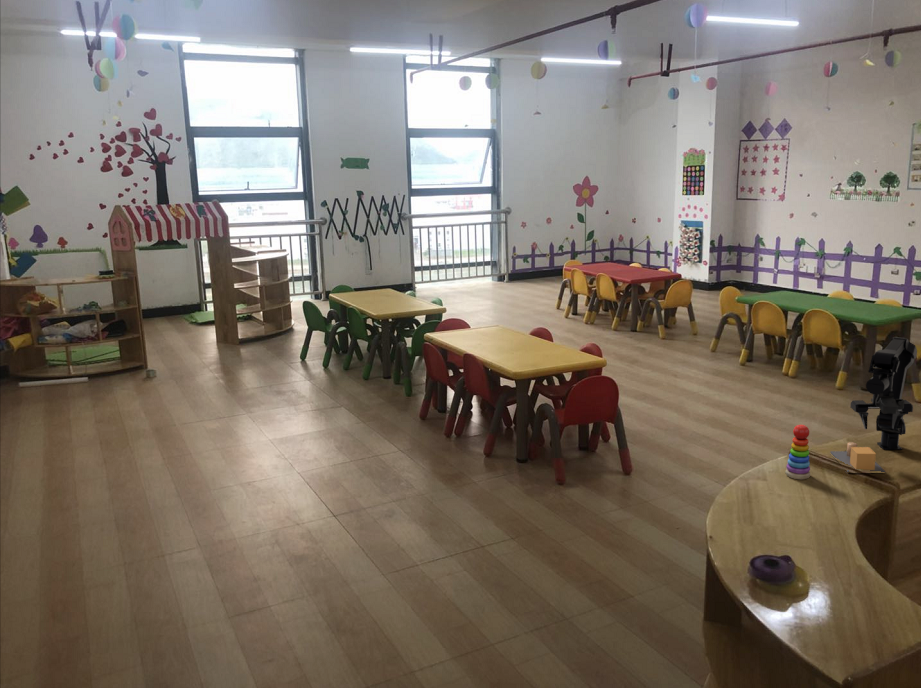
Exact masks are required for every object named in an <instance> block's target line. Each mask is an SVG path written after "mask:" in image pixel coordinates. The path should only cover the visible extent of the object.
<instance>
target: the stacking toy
mask: <svg viewBox="0 0 921 688" xmlns="http://www.w3.org/2000/svg"><path fill="white" fill-rule="evenodd" d="M792 431H793V432H792V433H793V435H794V437H793V438H792V439H791V440H792V443H791V447H790V448H791V449H790V450H789V451H790V453H789V454H788V459H787V463H786V469H785V474H786V476H787V477H789V478H791V479H793V480H794V479H795V480H807V479H809V478H810V477H811V471H810V470H811V466H810V456H809V455H810V451H809V448H810V446H809V441H810V440H809V439H808V437H809V435H810V429H809V428H808V426H806V425H805V424H797V425H795V426H794V428H793V429H792Z"/></svg>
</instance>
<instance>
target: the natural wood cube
mask: <svg viewBox="0 0 921 688" xmlns="http://www.w3.org/2000/svg"><path fill="white" fill-rule="evenodd" d="M876 455H877V453H876V452H875V451H874V450H873V449H872V448H871V447H870V446H869V447H868V446H857V447H851V456H850V464H851V465H852V466H853V467H854V468H855V469H863V470H875V462H876V458H877V456H876Z"/></svg>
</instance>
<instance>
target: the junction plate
mask: <svg viewBox="0 0 921 688" xmlns="http://www.w3.org/2000/svg"><path fill="white" fill-rule="evenodd" d="M851 447H858V443H856V442H853V441H850V442H847V449H846V450H845V451H843V450H841V451H839V450H837V451H835V450H831V451H829V454H830V453H831V454H832V455H833V456H834V457H835V458H837V459H839V460H840V461H842V462H844V463H845V464H848V465H850V466H852V465H851V464H850V456H851ZM831 454H830V455H831ZM832 455H831V456H832ZM833 456H832V457H833ZM834 457H833V458H834ZM870 471H881V472H885V473H886V470H884V468H883V467H882V466H880V464H878V462H877V461H875V470H870ZM847 472H849V470H847ZM847 472H846V473H847Z"/></svg>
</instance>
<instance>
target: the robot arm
mask: <svg viewBox="0 0 921 688" xmlns="http://www.w3.org/2000/svg"><path fill="white" fill-rule="evenodd" d="M917 355H918V350H917V346H916V345H915V344H913V343H912V342H910V341H909V339H908V338H906V337H897V336H894V337H892V338H891V339H890V341H889V343H888V345H887V346H886V347H885V348H884V349H879V350H877V351H875V353H873V354H872V356H871V359H870V363H869V368H868V370H867V371H868V373H870V374H872V376H871V378H869V379H868V380H867V382H866V384H865V389H866V390H867V392H868V393H870V394H871V395H872V398H871V399H870V401H871V402H870V403H869V402H868V403H867V402H865V400H861V399H859V400H852V401H851V402H850V409H851V410H853V411H854V412H855V413H857V414H858V415H859V416H860V419H861V422H862V424H863V428H864V430H867V429H868V417H869V414H870V413H869V412H868V411H869V409H870V410H871V409H872V410H875V409H879V414H878V415H877V416H876V418H875V419H876V421H875V425H876V426H875V427H876V432H881V433H880V434H881V435H880V441H879V442H876V444H877V446H879V447H880V448H881V449H882V450H886V451H888V450H890V451H891V450H894V451H897V450H901V451H902V449H903V448H902V447H901V446H900V445H899V441H900V436H902V435H905V434H906V433H907V431H906V430H907V429H906V422H905V419H903V418H904V416H905V415H908V414H909V413H913V411H914V405H913V404H912V403H911V402H910V401H909V400H907V399H903V394H904V393H903V392H904V387H905V383H906V377H907V371H908V369H909V368H910V367H911V366H912V365H913V364H914V362H915V360H916V359H917Z"/></svg>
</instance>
